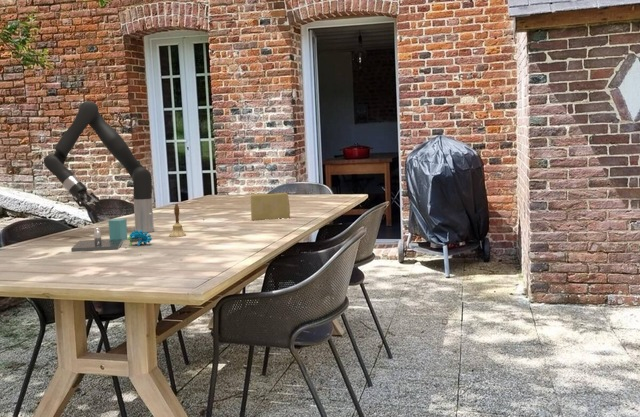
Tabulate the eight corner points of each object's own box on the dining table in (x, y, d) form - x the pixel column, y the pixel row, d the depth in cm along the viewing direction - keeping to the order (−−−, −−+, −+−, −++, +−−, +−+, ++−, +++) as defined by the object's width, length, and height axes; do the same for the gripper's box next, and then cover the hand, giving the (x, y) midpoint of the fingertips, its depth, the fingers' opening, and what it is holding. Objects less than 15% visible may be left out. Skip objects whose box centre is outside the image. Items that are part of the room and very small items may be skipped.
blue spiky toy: (155, 240, 329) (145, 227, 322) (153, 250, 325) (142, 238, 318) (135, 242, 332) (124, 230, 325) (132, 253, 328) (121, 240, 321)
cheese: (289, 217, 411) (289, 191, 409) (290, 219, 401) (289, 193, 400) (251, 218, 410) (250, 192, 408) (251, 220, 400) (250, 194, 398)
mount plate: (123, 242, 335) (122, 223, 334) (117, 249, 316) (116, 229, 315) (79, 244, 332) (78, 225, 331) (71, 251, 313) (70, 231, 312)
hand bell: (189, 235, 352) (188, 203, 350) (175, 237, 346) (174, 205, 344) (179, 233, 358) (178, 202, 356) (166, 235, 352) (164, 204, 350)
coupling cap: (116, 238, 345) (115, 218, 344) (127, 239, 344) (126, 218, 343) (109, 240, 340) (108, 220, 339) (120, 241, 338) (119, 220, 337)
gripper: (70, 182, 337) (92, 206, 335) (87, 180, 351) (109, 203, 349) (61, 193, 339) (83, 217, 337) (79, 190, 353) (100, 213, 351)
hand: (96, 210), depth 343 cm, fingers open, 8 cm apart
